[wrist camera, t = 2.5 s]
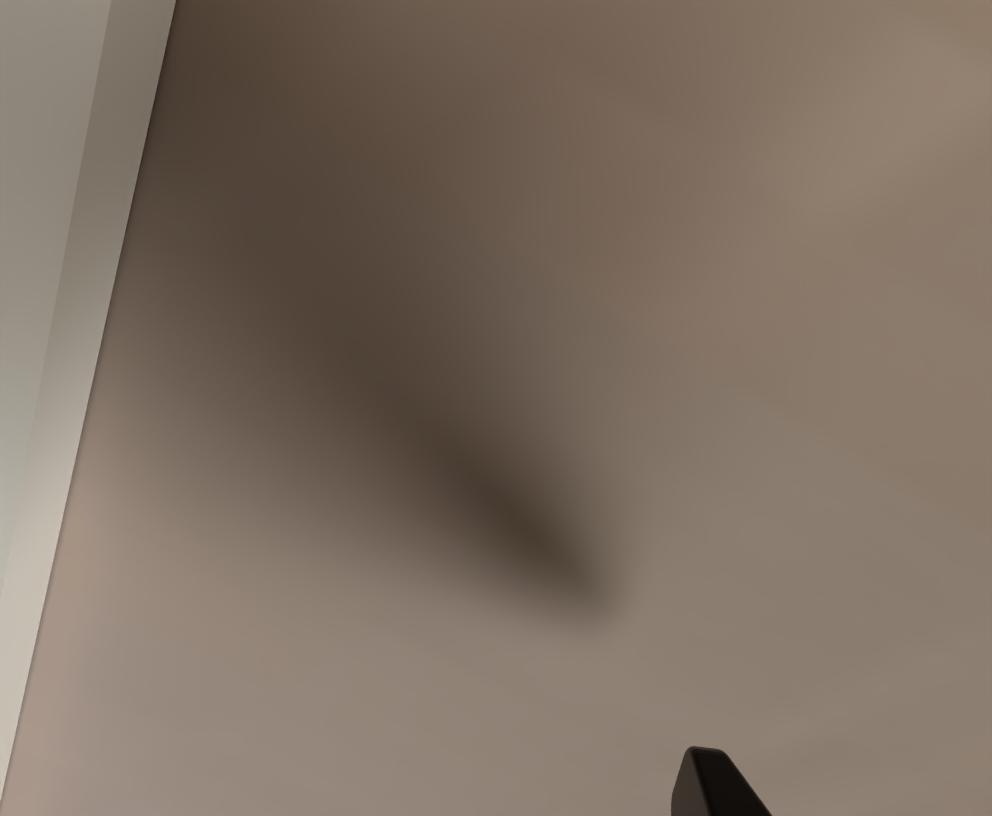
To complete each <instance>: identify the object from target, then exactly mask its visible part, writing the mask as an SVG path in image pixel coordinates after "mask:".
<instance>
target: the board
mask: <svg viewBox="0 0 992 816" xmlns="http://www.w3.org/2000/svg"><path fill="white" fill-rule="evenodd" d="M175 3H176V0H0V801H1V796H2V792H3V787H4V782H5V778H6V773H7V769H8V764H9V760H10V755H11V751H12V746H13V741H14V737H15V732H16V728H17V723H18V719H19V714H20V710H21V705H22V700H23V696H24V691H25V687H26V682H27V678H28V673H29V668H30V664H31V659H32V655H33V650H34V646H35V641H36V637H37V632H38V627H39V623H40V618H41V614H42V609H43V605H44V600H45V596H46V591H47V586H48V582H49V577H50V573H51V568H52V564H53V559H54V555H55V550H56V545H57V541H58V536H59V532H60V527H61V523H62V518H63V513H64V509H65V504H66V500H67V495H68V491H69V486H70V482H71V477H72V472H73V468H74V463H75V459H76V454H77V450H78V445H79V441H80V436H81V431H82V427H83V422H84V418H85V413H86V409H87V404H88V399H89V395H90V390H91V386H92V381H93V377H94V372H95V368H96V363H97V358H98V354H99V349H100V345H101V340H102V336H103V331H104V327H105V322H106V317H107V313H108V308H109V304H110V299H111V295H112V290H113V285H114V281H115V276H116V272H117V267H118V263H119V258H120V254H121V249H122V244H123V240H124V235H125V231H126V226H127V222H128V217H129V213H130V208H131V203H132V199H133V194H134V190H135V185H136V181H137V176H138V171H139V167H140V162H141V158H142V153H143V149H144V144H145V140H146V135H147V130H148V126H149V121H150V117H151V112H152V108H153V103H154V99H155V94H156V89H157V85H158V80H159V76H160V71H161V67H162V62H163V57H164V53H165V48H166V44H167V39H168V35H169V30H170V26H171V21H172V16H173V12H174V7H175Z"/></svg>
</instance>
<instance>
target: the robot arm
mask: <svg viewBox="0 0 992 816" xmlns="http://www.w3.org/2000/svg"><path fill="white" fill-rule="evenodd" d="M671 816H772V815H771V813H770V812H769V811H768V809H767V808H766V807H765V805H764V804H763V802H762V801H761V800H760V798H759V797H758V796H757V794H756V793H755V792H754V790H753V789H752V788H751V786H750V785H749V784H748V782H747V781H746V779H745V778H744V777H743V775H742V774H741V773H740V771H739V770H738V769H737V767H736V766H735V765H734V763H733V762H732V760H731V759H730V758H729V756H728V755H727V754H726V753H725V752H723V751H722V750H719V749H714V748H705V747H697V746H692V747H689V748H688V749H687V750H686V752H685V754H684V757H683V761H682V764H681V767H680V770H679V773H678V776H677V780H676V783H675V786H674V789H673V793H672V801H671Z"/></svg>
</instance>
